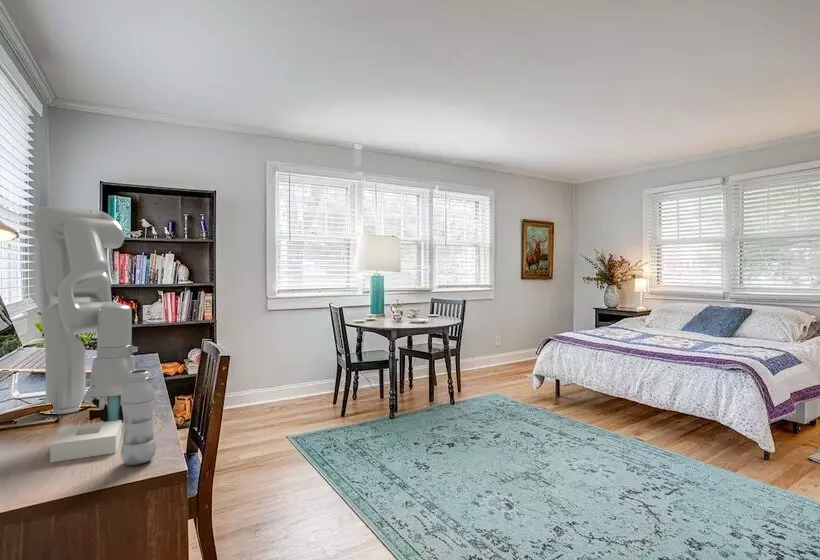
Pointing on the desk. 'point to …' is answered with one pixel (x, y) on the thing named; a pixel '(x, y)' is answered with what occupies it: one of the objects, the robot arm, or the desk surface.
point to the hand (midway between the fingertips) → (113, 421)
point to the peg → (113, 408)
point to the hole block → (86, 440)
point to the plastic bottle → (138, 419)
